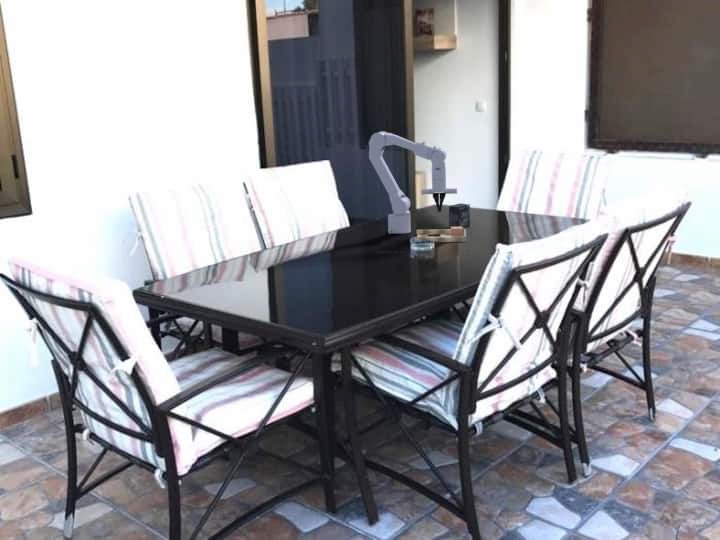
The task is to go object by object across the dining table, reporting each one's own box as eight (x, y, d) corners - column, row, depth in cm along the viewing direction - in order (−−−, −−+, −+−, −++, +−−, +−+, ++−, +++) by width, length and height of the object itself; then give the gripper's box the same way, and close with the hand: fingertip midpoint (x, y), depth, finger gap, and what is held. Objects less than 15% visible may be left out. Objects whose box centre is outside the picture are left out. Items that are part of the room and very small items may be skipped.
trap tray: (414, 245, 290) (414, 237, 289) (416, 236, 305) (416, 229, 304) (466, 244, 287) (465, 237, 286) (466, 236, 302) (466, 228, 301)
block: (451, 238, 293) (450, 228, 292) (451, 236, 297) (451, 226, 296) (462, 238, 292) (462, 228, 291) (462, 236, 296) (462, 226, 295)
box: (459, 231, 312) (458, 206, 309) (448, 230, 316) (448, 205, 313) (470, 228, 317) (470, 204, 314) (460, 226, 321) (459, 203, 318)
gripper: (420, 180, 298) (421, 213, 302) (456, 179, 296) (457, 212, 299) (421, 178, 305) (422, 210, 308) (456, 177, 303) (457, 209, 306)
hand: (439, 211), depth 304 cm, fingers closed
